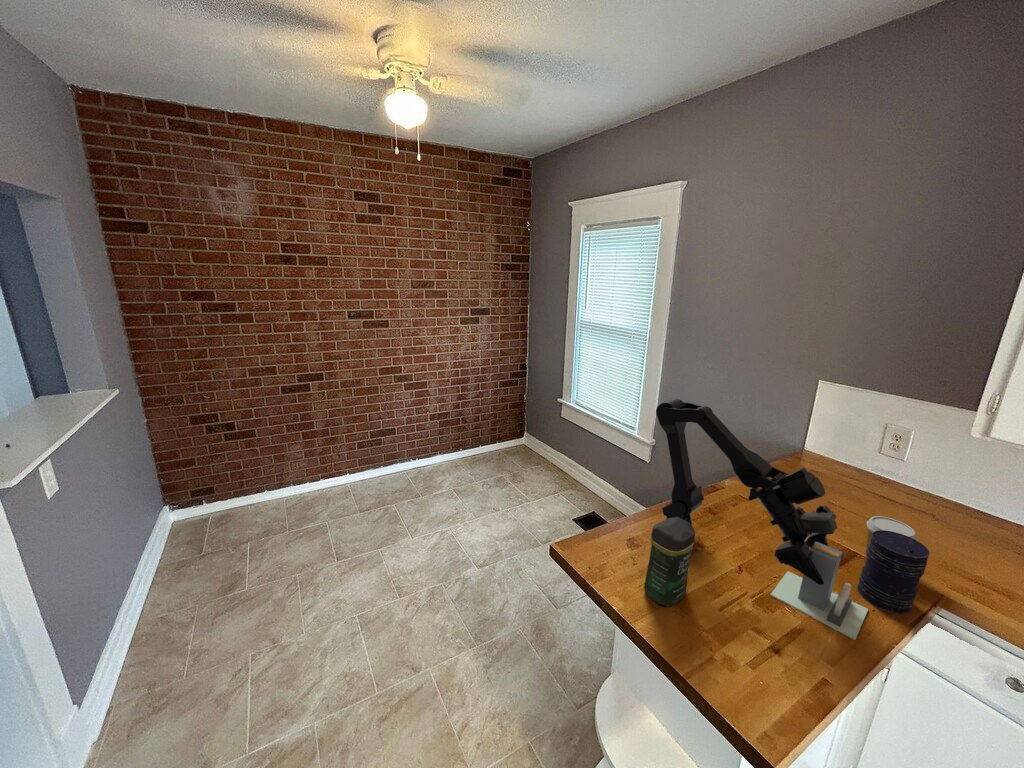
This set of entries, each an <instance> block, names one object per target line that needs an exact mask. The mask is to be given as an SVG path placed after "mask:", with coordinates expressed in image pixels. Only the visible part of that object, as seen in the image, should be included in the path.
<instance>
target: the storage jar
mask: <svg viewBox="0 0 1024 768" xmlns="http://www.w3.org/2000/svg"><path fill="white" fill-rule="evenodd" d="M929 557H930V551H929V548H928V547H927V546H925V545H924V544H923V543H921V542H919V541H918V540H917V539H916V540H915V539H912V538H910V537H908V536H905V535H903V534H900V533H896V532H892V531H885V530H879V531H875V532H873V534H872V538H871V541H870V543H869V546H868V550H867V560H866V563H865V562H864V566H863V567H862V569H861V572H860V574H859V580H858V584H857V592H858V594H859V595H860V596H861V597H862V599H864V600H865V602H868V603H869V604H870V605H872V606H873V607H876V608H878V609H880V610H883V611H885V612H888V613H891V614H894V615H907V614H909V613H911V611H912V607H913V604H914V603H915V602H916V598H917V594H918V585H919V583H920V579H921V578H923V575H924V574H925V570H926V568H927V564H928V561H929Z"/></svg>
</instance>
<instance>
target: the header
mask: <svg viewBox="0 0 1024 768" xmlns="http://www.w3.org/2000/svg"><path fill="white" fill-rule="evenodd" d="M802 579H803V576H799V575H797V574H795V573H793V572H791V571H789V570H788V571H786V573H785V574H784V576H783V577H782V578H781V580H780V581H779V582H778V583H777V585H776V586H775V588H774V589H773V590H772V592H771V593H770V595H769V596H771V597H773V598H774V599H777V600H778V601H780V602H782V603H784V604H785V605H787V606H789V607H792V608H793V609H795V610H798V611H799V612H801V613H803V614H804V615H806V616H809V617H810V618H813V619H815V620H816V621H818V622H819V623H822V624H824V625H825V626H828V627H829V628H831V629H833V630H834V631H837V632H838V633H841V634H842V635H845V636H847V637H848V638H851V639H852V640H854V641H856V639H857V638H858V636H859V635H858V634H859V633H860V630H861V628H862V626H863V623H864V621H865V618H866V616H867V614H868V611H869V608H867V607H864V606H863V605H860V604H858V603H856V602H854V601H853V599H852V598H851V597H850V593H851V589H852V584H851V583H849V582H845V583H844V584H843V588H841V589H840V593H835V592H833V591H832V594H831V597H830V601H829V602H828V604H827V606H826V608H825V610H824V611H822V610H820V609H818V608H816V607H814V606H812V605H810V604H808V603H806V602H804V601H803V600H801V599H799V598H798V596H799V592H800V587H801V583H802Z"/></svg>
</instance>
